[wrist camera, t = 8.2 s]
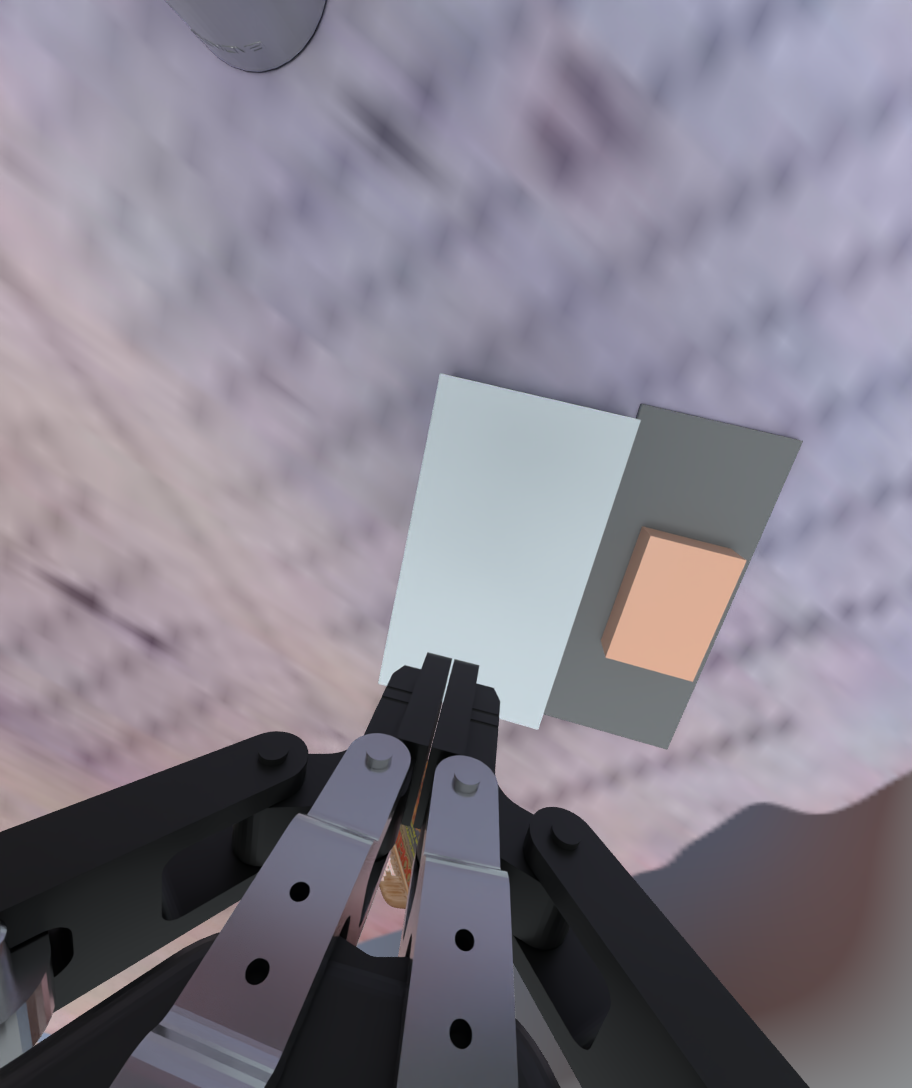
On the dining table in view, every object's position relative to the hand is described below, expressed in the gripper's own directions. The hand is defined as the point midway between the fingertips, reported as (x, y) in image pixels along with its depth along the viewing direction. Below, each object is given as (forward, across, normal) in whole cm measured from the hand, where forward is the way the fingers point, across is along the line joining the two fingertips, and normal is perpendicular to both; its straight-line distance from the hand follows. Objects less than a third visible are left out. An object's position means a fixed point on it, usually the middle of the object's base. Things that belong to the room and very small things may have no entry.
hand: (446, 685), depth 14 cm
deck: (+22, -1, +3) cm, 22 cm away
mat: (+22, -12, +3) cm, 25 cm away
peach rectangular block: (+19, -13, +3) cm, 23 cm away
